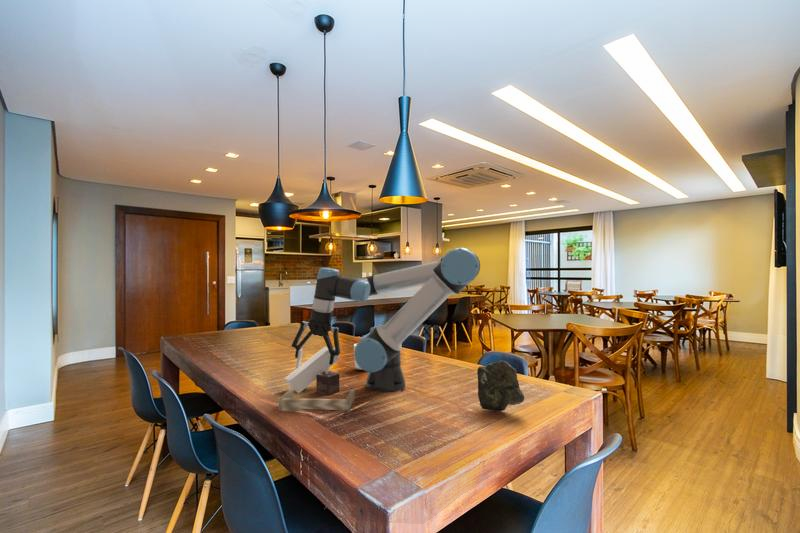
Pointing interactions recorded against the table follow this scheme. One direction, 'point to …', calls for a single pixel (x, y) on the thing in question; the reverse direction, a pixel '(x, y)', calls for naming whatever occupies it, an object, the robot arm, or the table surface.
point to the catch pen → (314, 403)
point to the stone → (498, 386)
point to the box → (327, 383)
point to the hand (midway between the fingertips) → (312, 369)
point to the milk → (309, 370)
